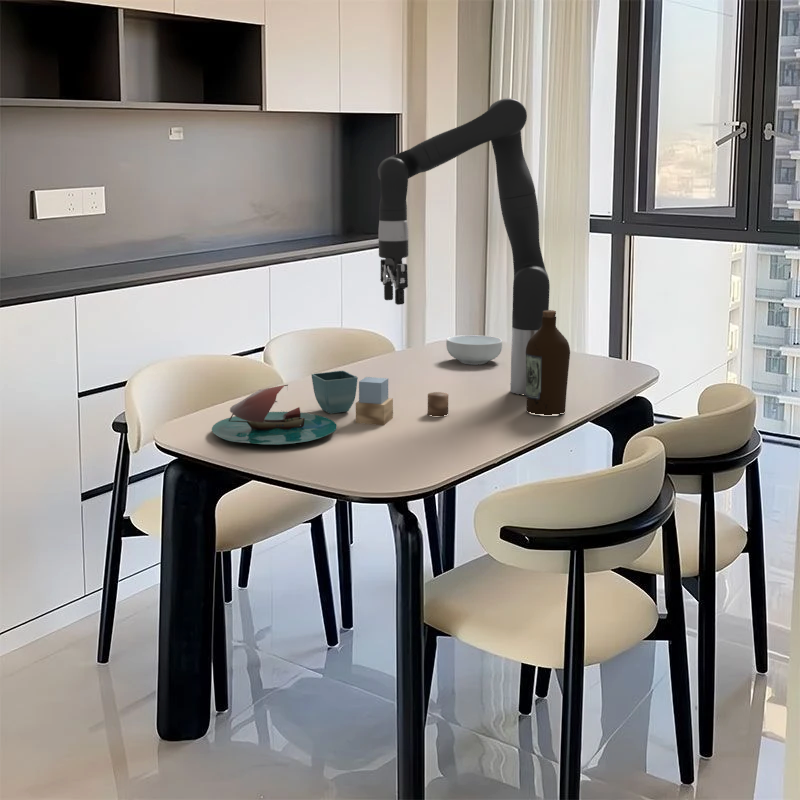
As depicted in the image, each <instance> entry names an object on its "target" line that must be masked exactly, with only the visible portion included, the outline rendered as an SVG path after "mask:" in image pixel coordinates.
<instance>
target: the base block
mask: <svg viewBox="0 0 800 800" xmlns="http://www.w3.org/2000/svg"><path fill="white" fill-rule="evenodd" d="M393 418H394V398H391V397H388V400H386V401H385V402H384V403H382V404H373V403H360V402H359V400H358V401H356V402H355V424H362V423H365V424H364V425H375V424H376V425H378V426H385V425H387V424H388V423H389V422H390V421H392V420H393ZM376 425H375V426H376Z"/></svg>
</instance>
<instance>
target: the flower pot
mask: <svg viewBox="0 0 800 800" xmlns="http://www.w3.org/2000/svg"><path fill="white" fill-rule="evenodd" d="M358 378H359V377H357V376H356V375H353V374H351V373H349V372H348V371H345V370H334V371H327V372H319V373H311V382H312V387H313V392H314V393H313V394H314V397H315V400H316V402H317V403H318V405H319V407H320V409H321V410H322V411H323V412H325V413H328V414H331V415H332V413H333V414H338V413H347V412H349V411H350V409H351V408H352V406H353V404H354V402H355V399H356V396H357V388H358V387H357V386H358V380H359V379H358Z"/></svg>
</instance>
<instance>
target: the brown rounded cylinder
mask: <svg viewBox="0 0 800 800" xmlns="http://www.w3.org/2000/svg"><path fill="white" fill-rule="evenodd" d="M447 414H448V415H449V393H446V392H442V391H435V392H429V393H428V394H427V415H432V416H444V415H447ZM432 416H431V417H432Z"/></svg>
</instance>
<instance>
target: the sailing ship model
mask: <svg viewBox="0 0 800 800" xmlns="http://www.w3.org/2000/svg"><path fill="white" fill-rule="evenodd" d="M288 386H289V384H283V385H277V386H273V387H268V388H263V389H258V390H257V391H255V392H253V393H251V394H250V395H249V396H247V397H245V398H243V399H241V401H238V403H235V404H233V405H232V406H231V407H230V408H229V411H230V413H231V416H230V417H227V418H224V419H221V420H219V421H217V422H216V423H215V424H213V425H212V427H211V432H212V433H213V434H214V435H215V436H217V437H219V438H220V439H223V440H225V441H229V442H235V443H246V444H255V445H256V444H258V445H289V444H290V445H291V444H296V443H305V442H310V441H314V440H318V439H321V438H324V437H326V436H329V435H330V434H332V433H334V432H336V430H337V428H338V427H337V425H338V424H337V423H336V422H335V421H334V420H332V419H330V418H328V417H326V416H323V415H318V414H314V413H313V414H312V413H307V412H301V407H300V406H298V407H296V408H294V409H292V410H289V411H271V409H272V408H273V406H274V404H275V403H278V400H277V396H278V394H279V393H280V392H281V391H282V389H284V387H287V388H286V389H287V391H288ZM275 405H276V404H275Z"/></svg>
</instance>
